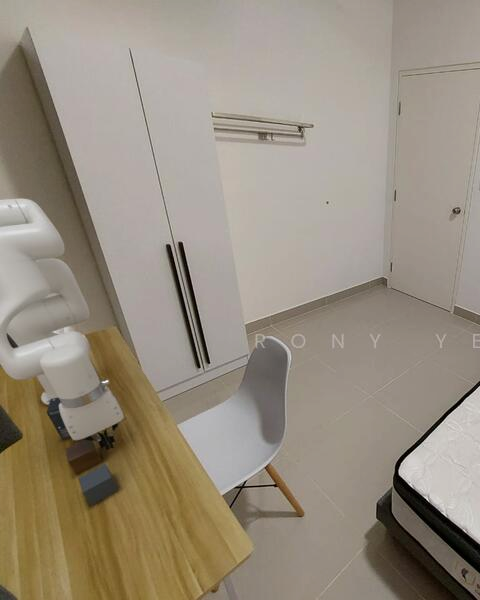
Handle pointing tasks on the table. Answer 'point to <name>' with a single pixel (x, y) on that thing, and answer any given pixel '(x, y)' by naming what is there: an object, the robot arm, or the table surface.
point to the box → (57, 417)
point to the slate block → (97, 484)
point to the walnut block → (83, 456)
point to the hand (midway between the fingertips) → (109, 446)
